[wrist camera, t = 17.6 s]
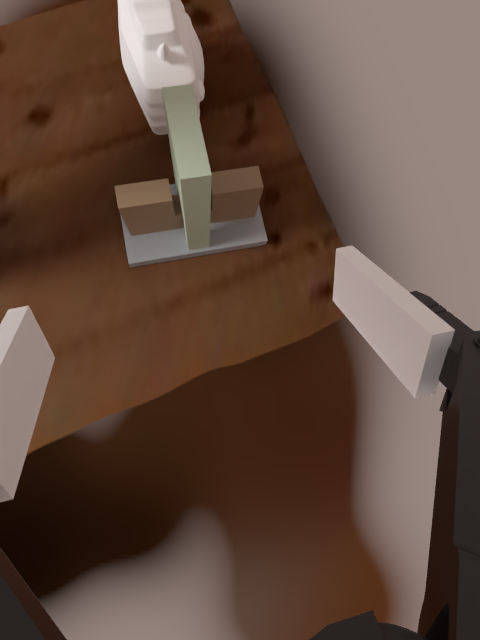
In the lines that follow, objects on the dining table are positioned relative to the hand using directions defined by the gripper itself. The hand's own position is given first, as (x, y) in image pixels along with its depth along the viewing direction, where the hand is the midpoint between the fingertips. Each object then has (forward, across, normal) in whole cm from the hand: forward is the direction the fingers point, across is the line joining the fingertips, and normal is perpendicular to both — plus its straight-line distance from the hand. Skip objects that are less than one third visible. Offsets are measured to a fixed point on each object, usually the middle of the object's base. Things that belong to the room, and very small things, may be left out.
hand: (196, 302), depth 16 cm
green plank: (+39, +3, -9) cm, 40 cm away
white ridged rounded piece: (+54, +3, +4) cm, 55 cm away
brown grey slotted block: (+40, +3, -10) cm, 41 cm away
